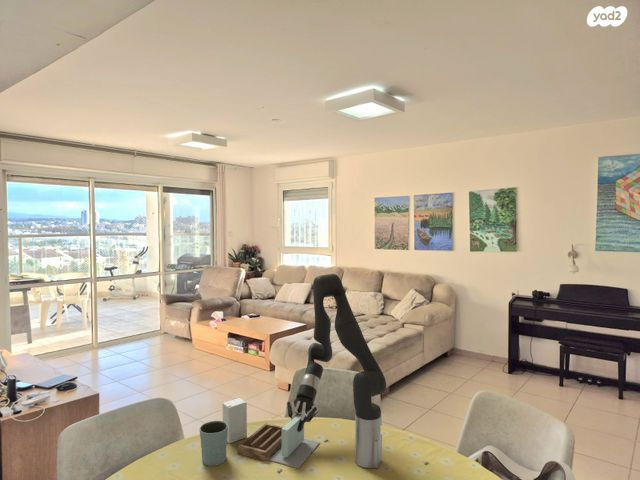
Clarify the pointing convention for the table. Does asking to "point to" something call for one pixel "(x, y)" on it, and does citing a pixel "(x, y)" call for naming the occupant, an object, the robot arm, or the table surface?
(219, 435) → the grey-green cup
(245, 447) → the walnut box
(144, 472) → the table surface
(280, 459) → the grey mat
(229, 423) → the skincare box
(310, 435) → the table surface
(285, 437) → the cover plate
